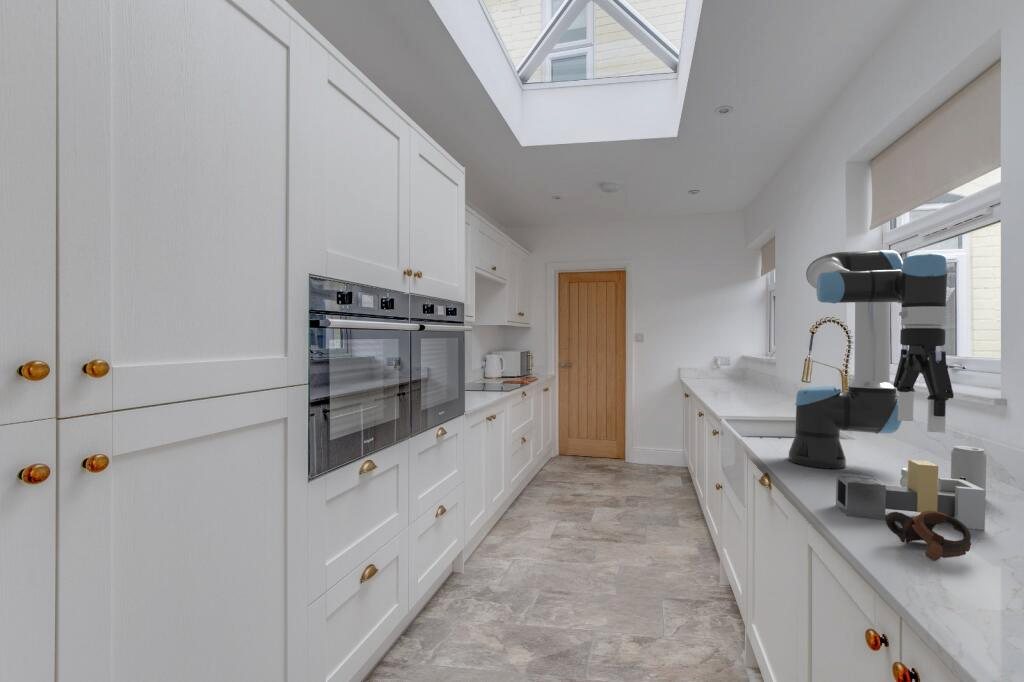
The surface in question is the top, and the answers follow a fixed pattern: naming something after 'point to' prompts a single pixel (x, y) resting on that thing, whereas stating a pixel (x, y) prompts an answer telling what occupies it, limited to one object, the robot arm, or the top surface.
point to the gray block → (861, 496)
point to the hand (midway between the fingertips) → (919, 426)
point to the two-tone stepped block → (921, 491)
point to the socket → (966, 502)
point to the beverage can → (969, 465)
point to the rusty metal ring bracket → (930, 533)
